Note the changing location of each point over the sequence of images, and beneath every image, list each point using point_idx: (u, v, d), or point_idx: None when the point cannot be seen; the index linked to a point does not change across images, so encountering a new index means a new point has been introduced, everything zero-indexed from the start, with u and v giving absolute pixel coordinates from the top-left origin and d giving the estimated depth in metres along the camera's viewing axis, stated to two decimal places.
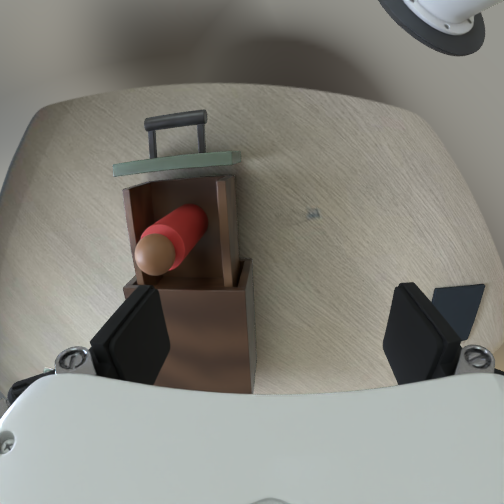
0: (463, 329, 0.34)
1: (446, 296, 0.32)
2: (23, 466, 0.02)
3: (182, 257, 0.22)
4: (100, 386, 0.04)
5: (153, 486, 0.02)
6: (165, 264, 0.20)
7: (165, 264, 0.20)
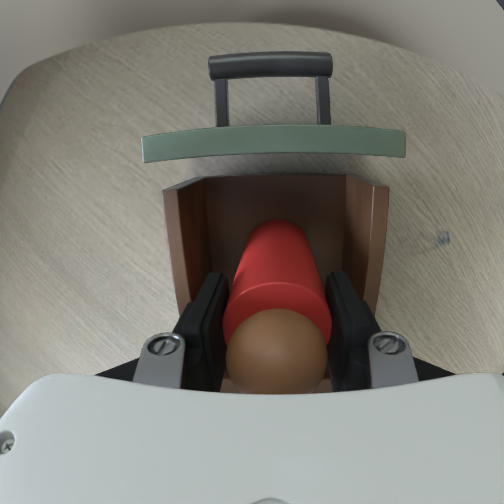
0: None
1: None
2: (23, 466, 0.02)
3: None
4: (100, 386, 0.04)
5: (153, 486, 0.02)
6: (315, 388, 0.08)
7: None
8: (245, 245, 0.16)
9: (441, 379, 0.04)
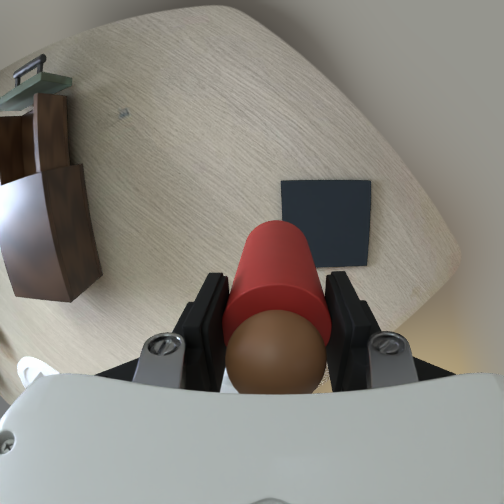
0: (353, 246, 0.31)
1: (301, 192, 0.30)
2: (23, 466, 0.02)
3: None
4: (100, 386, 0.04)
5: (153, 486, 0.02)
6: (314, 389, 0.08)
7: None
8: (245, 246, 0.16)
9: (441, 379, 0.04)
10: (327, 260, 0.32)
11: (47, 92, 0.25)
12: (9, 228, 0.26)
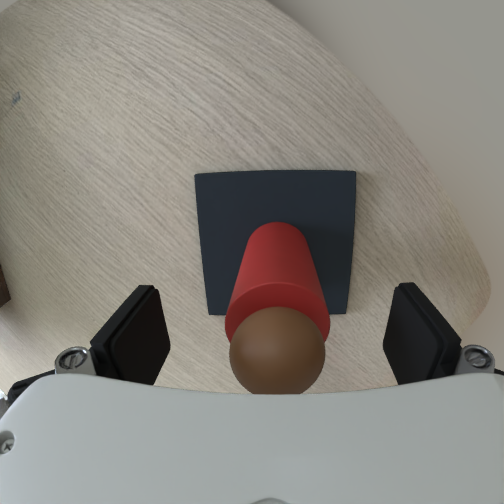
0: (323, 284, 0.19)
1: (229, 191, 0.17)
2: (23, 466, 0.02)
3: None
4: (100, 386, 0.04)
5: (153, 486, 0.02)
6: (313, 382, 0.08)
7: (314, 381, 0.08)
8: (246, 247, 0.16)
9: (441, 379, 0.04)
10: None
11: None
12: None
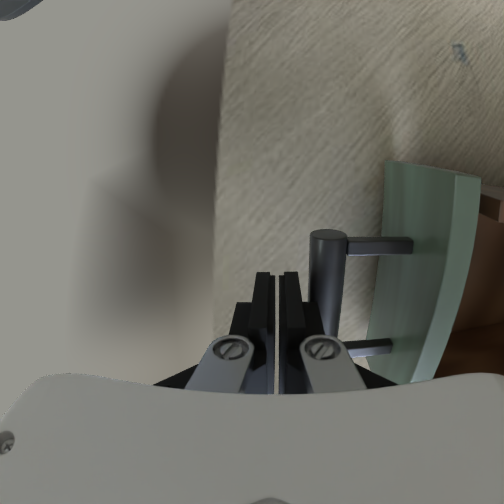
0: None
1: None
2: (23, 466, 0.02)
3: None
4: (100, 386, 0.04)
5: (153, 486, 0.02)
6: None
7: None
8: None
9: (441, 379, 0.04)
10: None
11: None
12: None
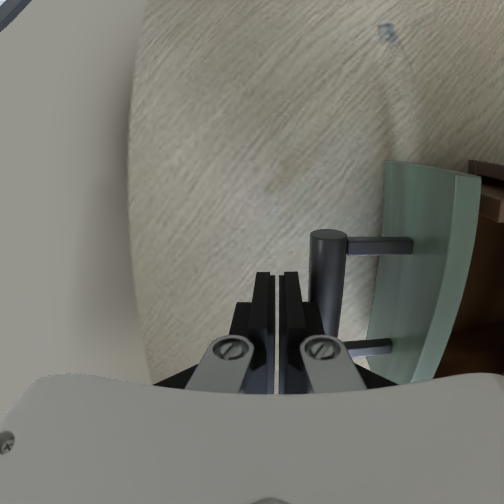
0: None
1: None
2: (23, 466, 0.02)
3: None
4: (100, 386, 0.04)
5: (153, 486, 0.02)
6: None
7: None
8: None
9: (441, 379, 0.04)
10: None
11: None
12: None
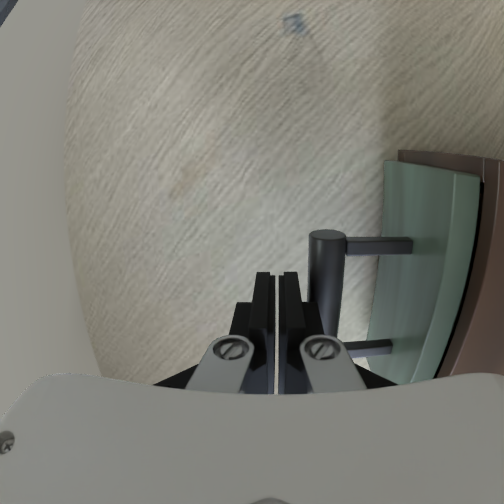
0: None
1: None
2: (23, 466, 0.02)
3: None
4: (100, 386, 0.04)
5: (153, 486, 0.02)
6: None
7: None
8: None
9: (441, 379, 0.04)
10: None
11: None
12: None
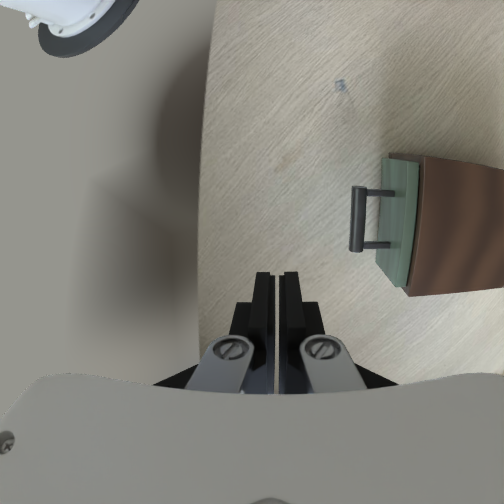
0: None
1: None
2: (23, 466, 0.02)
3: None
4: (100, 386, 0.04)
5: (153, 486, 0.02)
6: None
7: None
8: None
9: (441, 379, 0.04)
10: None
11: None
12: (463, 256, 0.21)
